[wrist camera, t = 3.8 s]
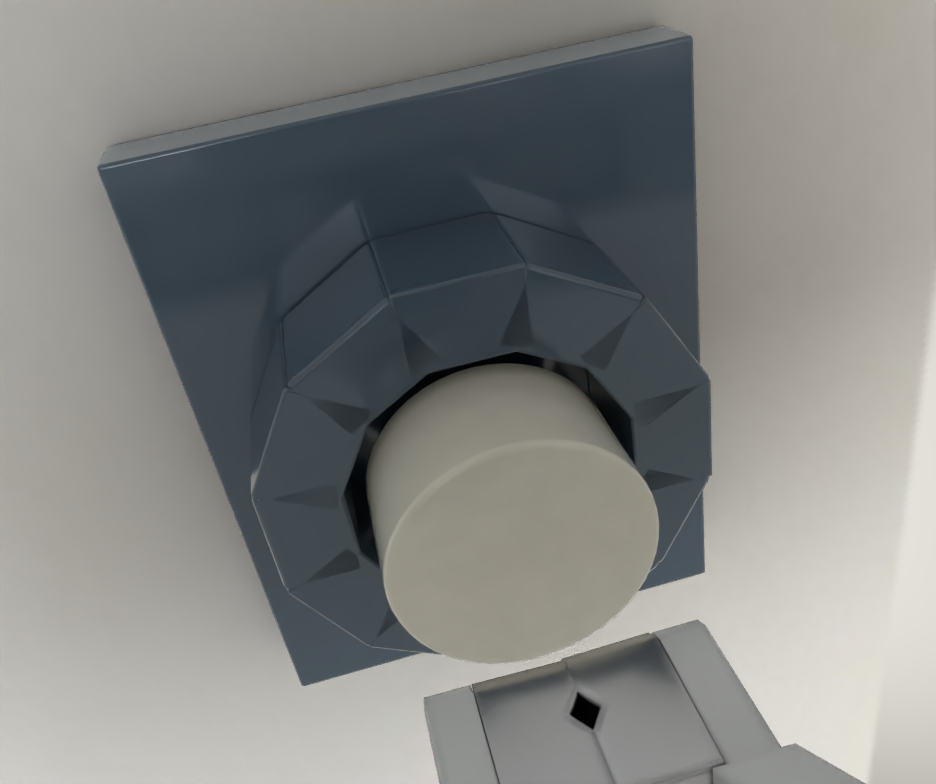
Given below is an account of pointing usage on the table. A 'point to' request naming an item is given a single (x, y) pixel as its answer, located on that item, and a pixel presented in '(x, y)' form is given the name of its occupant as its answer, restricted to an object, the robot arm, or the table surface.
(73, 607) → the table surface
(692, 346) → the mounted push button
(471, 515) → the cream button cap
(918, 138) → the table surface
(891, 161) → the table surface
